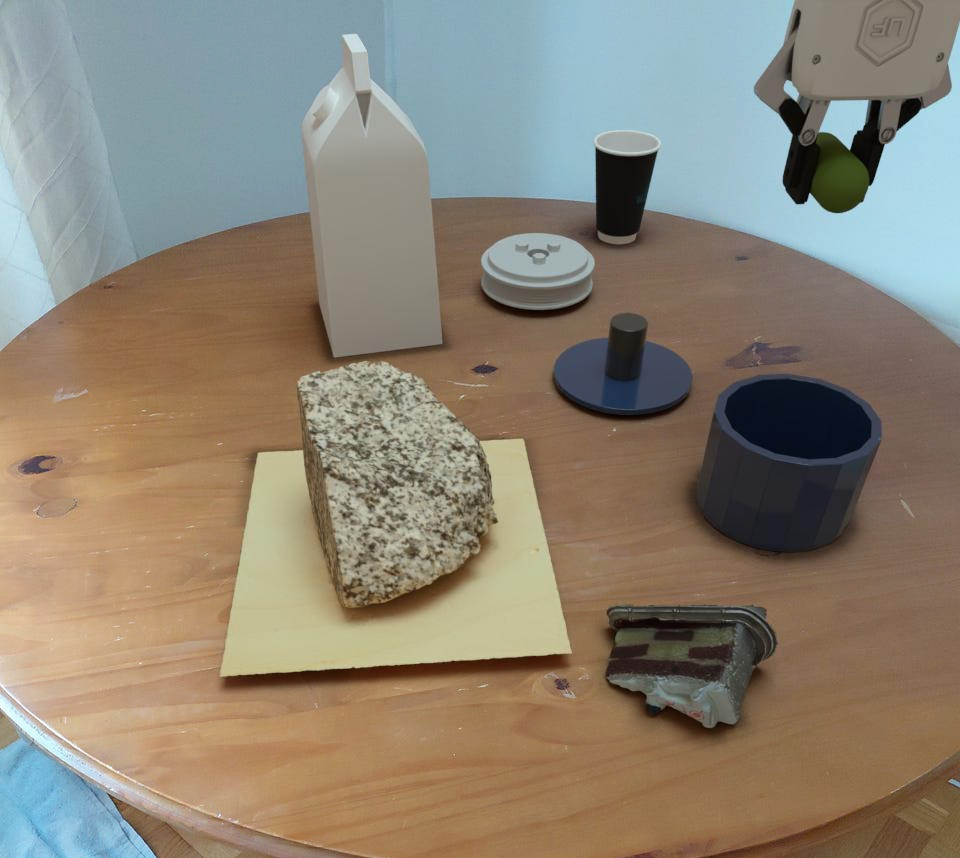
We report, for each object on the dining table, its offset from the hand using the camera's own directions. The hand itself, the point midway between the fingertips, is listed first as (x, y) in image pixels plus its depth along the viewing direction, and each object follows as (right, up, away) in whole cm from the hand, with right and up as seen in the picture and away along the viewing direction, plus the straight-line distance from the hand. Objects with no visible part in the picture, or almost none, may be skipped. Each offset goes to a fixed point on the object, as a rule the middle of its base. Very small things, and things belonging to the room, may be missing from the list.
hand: (823, 194), depth 66 cm
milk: (-37, +1, +30) cm, 48 cm away
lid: (-19, +6, +35) cm, 41 cm away
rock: (-33, -26, +5) cm, 42 cm away
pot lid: (-12, -7, +21) cm, 26 cm away
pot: (-1, -22, +9) cm, 24 cm away
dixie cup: (-8, +17, +45) cm, 49 cm away
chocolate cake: (-12, -37, -5) cm, 39 cm away
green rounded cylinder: (0, 0, 0) cm, 0 cm away
